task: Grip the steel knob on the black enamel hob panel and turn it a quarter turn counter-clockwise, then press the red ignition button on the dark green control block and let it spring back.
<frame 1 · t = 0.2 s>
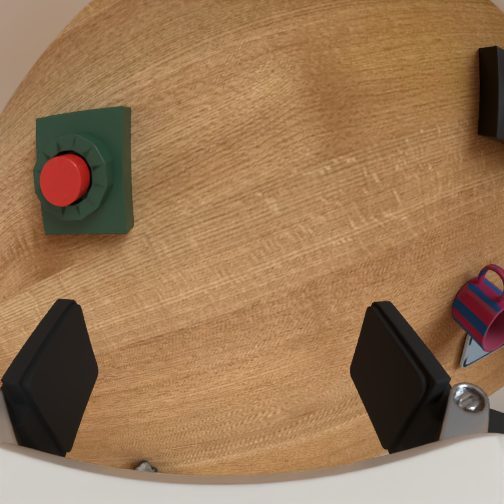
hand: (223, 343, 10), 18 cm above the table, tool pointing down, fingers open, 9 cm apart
decorative stone: (152, 475, 42), on the table
ignition button: (64, 179, 20), point 4 cm above the table, slide at 0.1 cm
mug: (472, 287, 32), on the table
smartphone: (496, 330, 36), on the table
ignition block: (88, 169, 24), on the table
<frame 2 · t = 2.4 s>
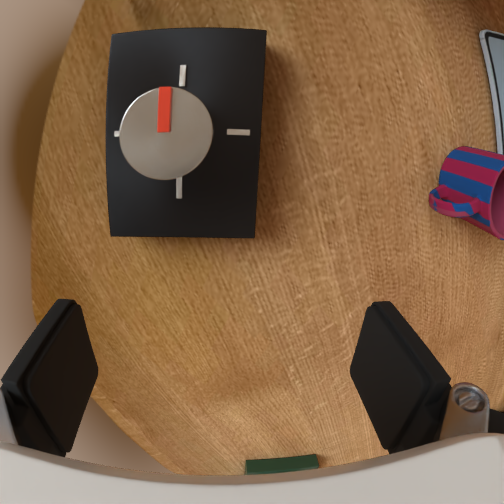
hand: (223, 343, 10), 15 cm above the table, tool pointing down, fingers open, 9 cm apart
hob panel: (185, 130, 21), on the table
mug: (450, 181, 24), on the table
hob knob: (173, 132, 16), point 6 cm above the table, hinge at 0.0°
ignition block: (278, 470, 39), on the table
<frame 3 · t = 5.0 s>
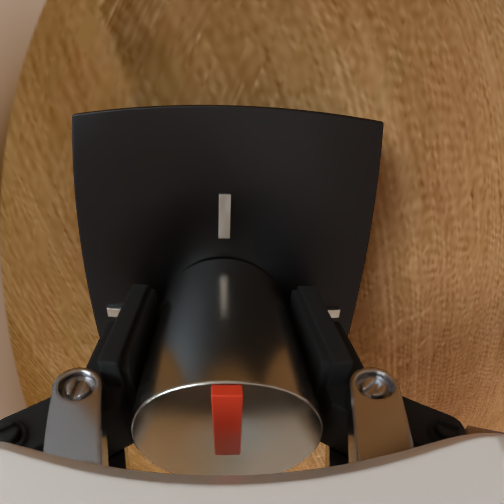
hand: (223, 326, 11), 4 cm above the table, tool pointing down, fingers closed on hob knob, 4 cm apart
hob panel: (222, 275, 14), on the table
hob knob: (224, 370, 9), point 6 cm above the table, hinge at -0.1°, touching gripper
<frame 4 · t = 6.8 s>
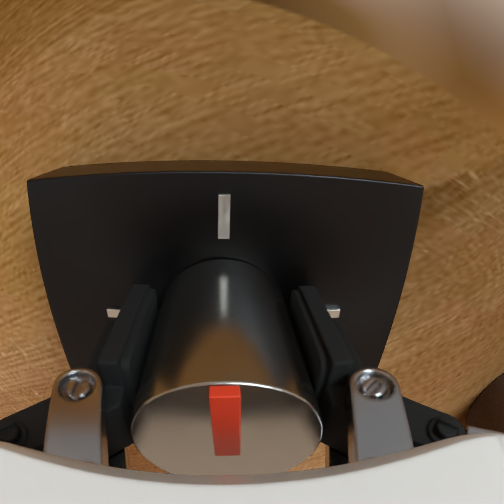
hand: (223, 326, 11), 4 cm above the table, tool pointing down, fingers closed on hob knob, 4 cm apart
hob panel: (222, 276, 14), on the table
hob knob: (224, 371, 9), point 6 cm above the table, hinge at 90.9°, touching gripper
flower pot: (493, 394, 22), on the table
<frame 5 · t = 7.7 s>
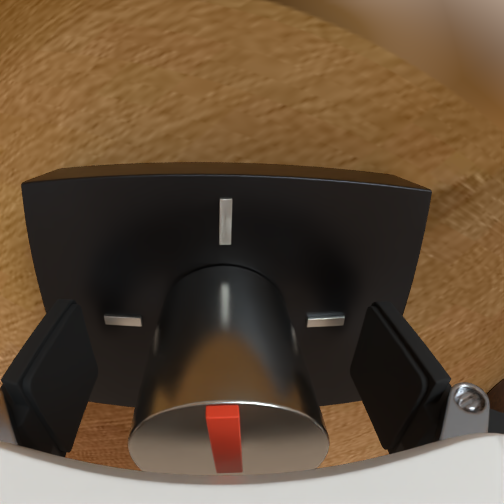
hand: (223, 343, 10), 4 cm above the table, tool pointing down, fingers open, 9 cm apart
hob panel: (223, 281, 14), on the table
hob knob: (225, 383, 8), point 6 cm above the table, hinge at 93.0°
flower pot: (495, 398, 22), on the table
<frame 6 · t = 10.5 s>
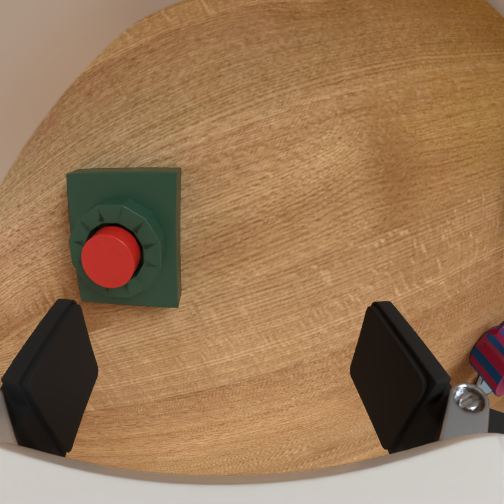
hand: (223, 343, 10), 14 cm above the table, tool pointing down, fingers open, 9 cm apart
ignition button: (110, 256, 19), point 4 cm above the table, slide at 0.1 cm
mug: (489, 335, 32), on the table
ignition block: (129, 233, 23), on the table
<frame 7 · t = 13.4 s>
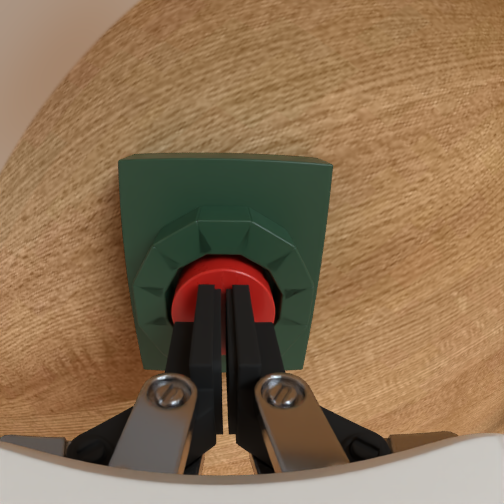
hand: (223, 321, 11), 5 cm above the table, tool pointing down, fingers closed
ignition button: (223, 303, 12), point 4 cm above the table, slide at -0.7 cm, touching gripper
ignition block: (222, 261, 15), on the table
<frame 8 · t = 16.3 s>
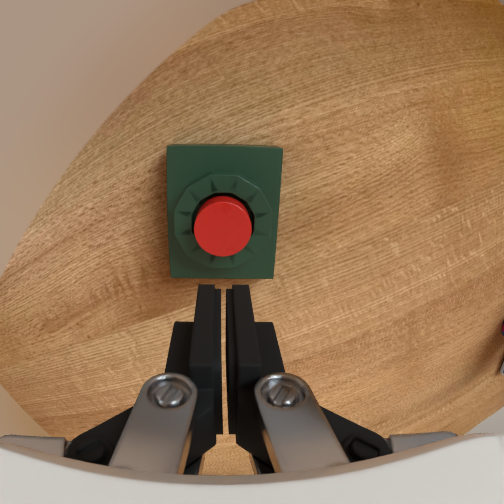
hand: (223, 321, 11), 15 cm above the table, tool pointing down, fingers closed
ignition button: (222, 225, 21), point 4 cm above the table, slide at 0.1 cm
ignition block: (222, 208, 25), on the table
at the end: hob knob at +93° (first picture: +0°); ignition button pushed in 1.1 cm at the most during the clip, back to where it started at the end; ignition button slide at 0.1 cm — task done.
